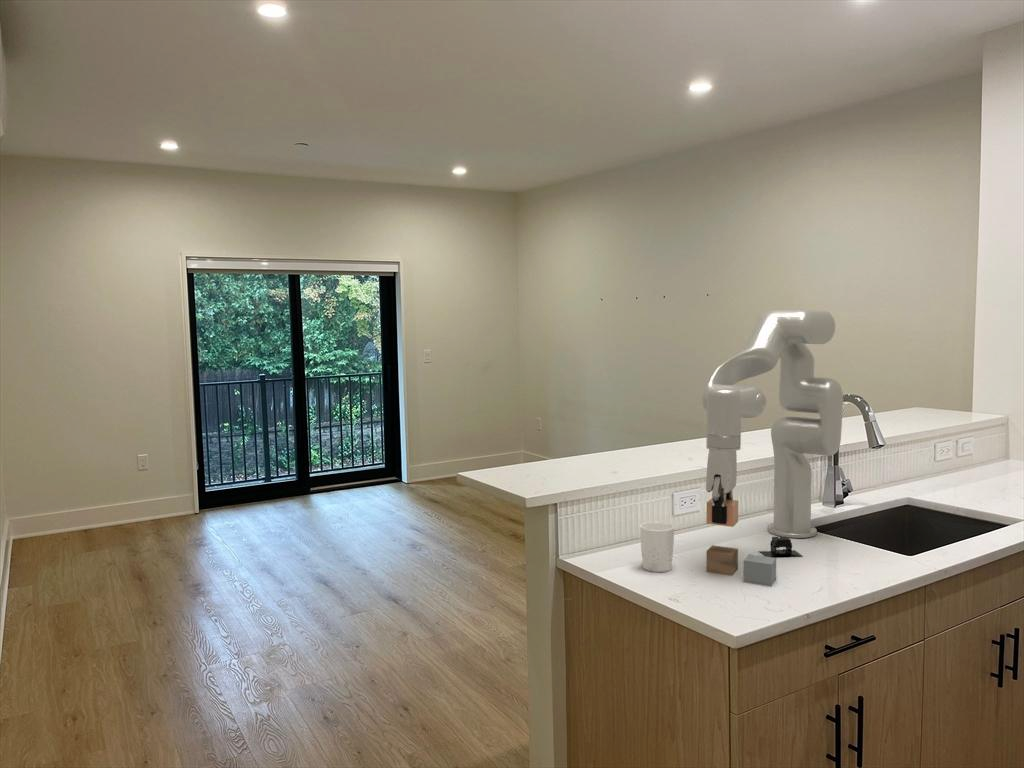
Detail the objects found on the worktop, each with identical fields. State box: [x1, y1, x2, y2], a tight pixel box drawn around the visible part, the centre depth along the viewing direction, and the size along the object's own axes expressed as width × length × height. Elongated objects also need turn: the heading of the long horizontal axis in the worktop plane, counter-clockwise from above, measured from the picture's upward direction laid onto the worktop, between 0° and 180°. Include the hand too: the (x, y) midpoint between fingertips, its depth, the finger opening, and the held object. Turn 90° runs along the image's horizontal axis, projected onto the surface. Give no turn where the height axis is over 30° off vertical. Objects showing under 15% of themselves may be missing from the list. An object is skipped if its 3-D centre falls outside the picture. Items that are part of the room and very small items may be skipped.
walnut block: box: [705, 544, 739, 577], centre depth 171 cm, size 5×6×5 cm
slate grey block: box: [742, 553, 777, 587], centre depth 164 cm, size 5×6×5 cm
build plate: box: [757, 536, 804, 559], centre depth 183 cm, size 12×7×5 cm, turn 94°
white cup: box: [639, 521, 675, 573], centre depth 174 cm, size 8×8×10 cm
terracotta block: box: [705, 497, 739, 528], centre depth 170 cm, size 5×6×5 cm
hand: (722, 519), depth 170 cm, fingers closed on terracotta block, 5 cm apart
